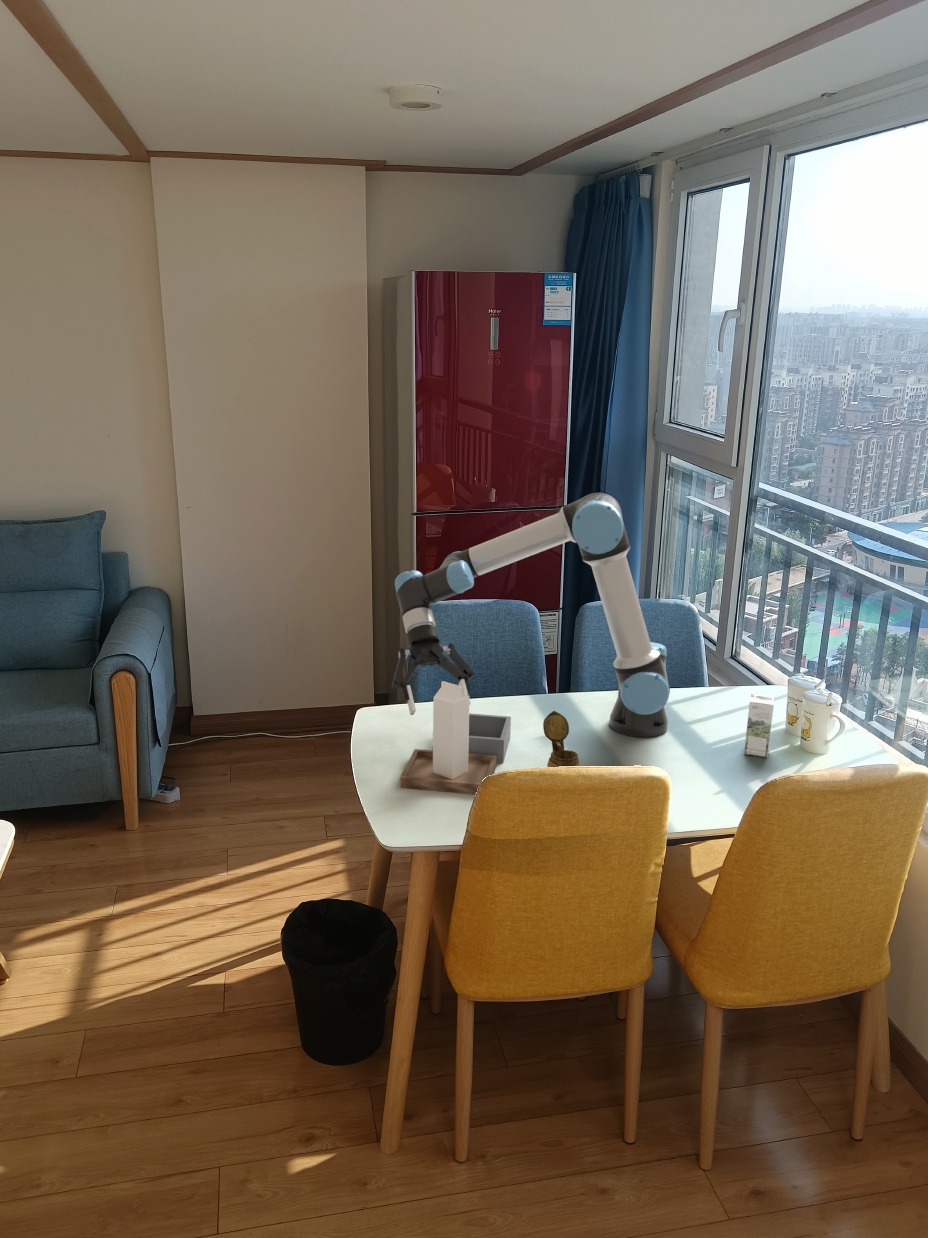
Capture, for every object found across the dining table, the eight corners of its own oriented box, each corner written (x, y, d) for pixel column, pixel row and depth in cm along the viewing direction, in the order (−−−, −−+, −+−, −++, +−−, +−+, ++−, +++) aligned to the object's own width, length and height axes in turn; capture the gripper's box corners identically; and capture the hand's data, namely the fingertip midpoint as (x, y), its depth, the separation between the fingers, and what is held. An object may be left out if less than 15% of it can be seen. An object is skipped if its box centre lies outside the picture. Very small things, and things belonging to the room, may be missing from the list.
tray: (496, 765, 235) (496, 755, 234) (487, 795, 219) (487, 785, 219) (414, 758, 238) (414, 749, 237) (400, 787, 222) (400, 777, 222)
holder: (510, 738, 250) (510, 716, 248) (503, 763, 236) (503, 740, 234) (452, 733, 252) (452, 712, 250) (442, 758, 238) (442, 735, 236)
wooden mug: (568, 780, 227) (572, 708, 222) (588, 808, 215) (593, 732, 209) (531, 784, 225) (534, 711, 220) (549, 811, 213) (553, 735, 208)
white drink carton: (768, 749, 246) (774, 695, 242) (767, 758, 241) (773, 703, 237) (745, 746, 248) (750, 692, 244) (743, 755, 243) (749, 700, 238)
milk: (448, 764, 232) (449, 677, 226) (468, 771, 229) (470, 682, 223) (432, 773, 228) (433, 684, 222) (452, 780, 224) (454, 690, 218)
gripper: (464, 632, 247) (485, 709, 238) (368, 642, 238) (386, 722, 229) (472, 618, 241) (494, 696, 232) (374, 627, 232) (393, 709, 223)
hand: (440, 709), depth 230 cm, fingers open, 13 cm apart
